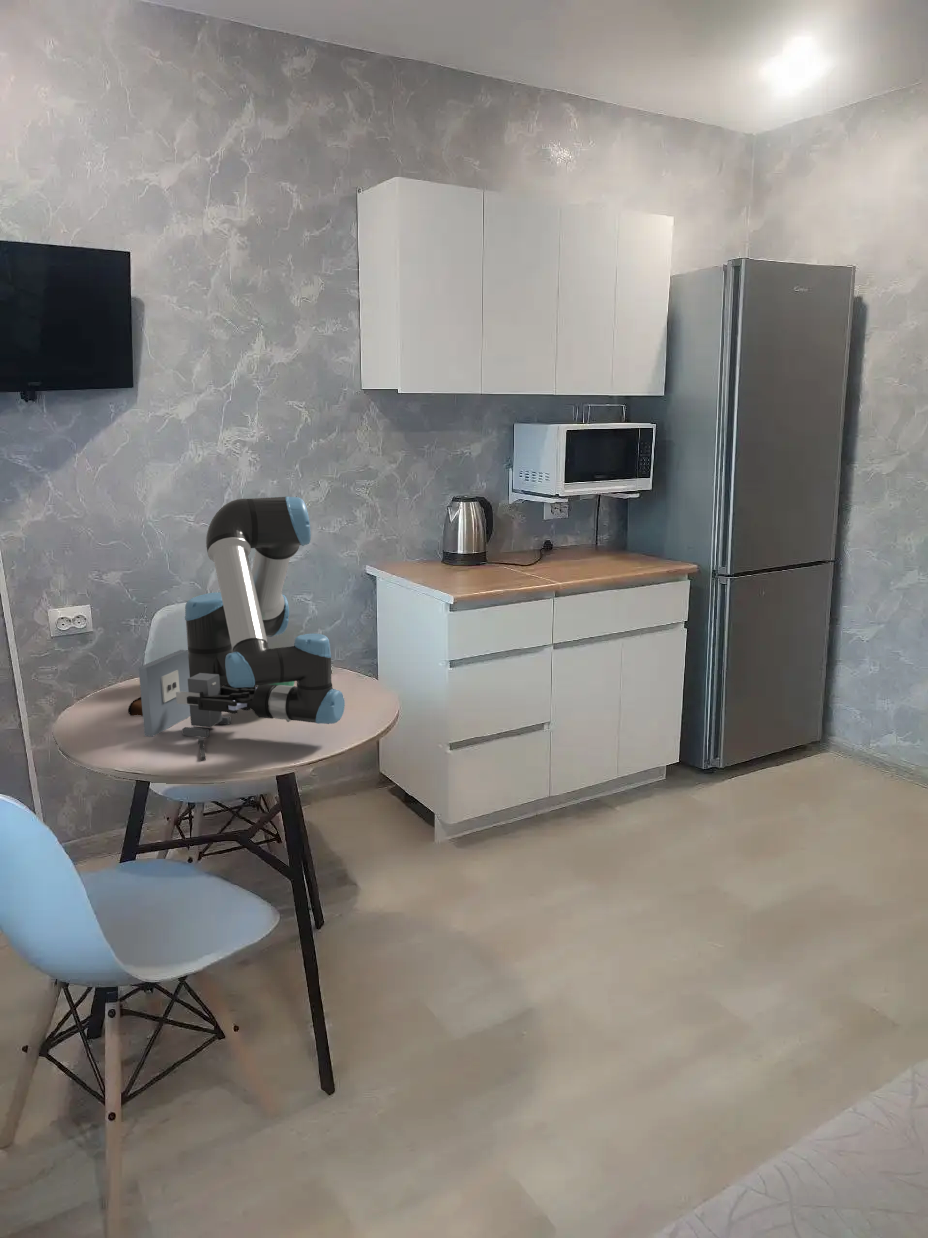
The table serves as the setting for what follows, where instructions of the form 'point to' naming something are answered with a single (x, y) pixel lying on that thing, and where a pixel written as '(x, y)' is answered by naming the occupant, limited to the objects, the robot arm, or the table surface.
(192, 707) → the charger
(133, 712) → the sunglasses case
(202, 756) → the grey long bar
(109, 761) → the table surface
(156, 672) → the outlet board
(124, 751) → the table surface
